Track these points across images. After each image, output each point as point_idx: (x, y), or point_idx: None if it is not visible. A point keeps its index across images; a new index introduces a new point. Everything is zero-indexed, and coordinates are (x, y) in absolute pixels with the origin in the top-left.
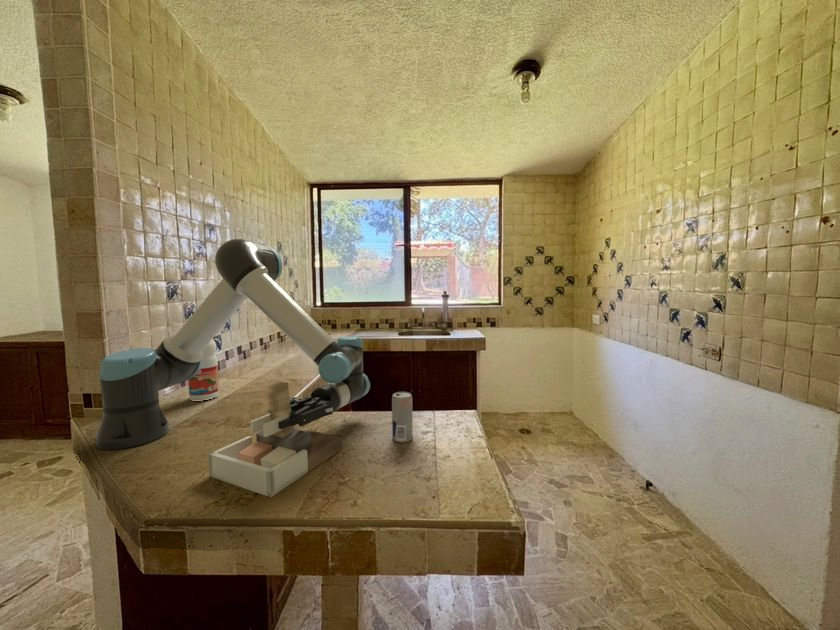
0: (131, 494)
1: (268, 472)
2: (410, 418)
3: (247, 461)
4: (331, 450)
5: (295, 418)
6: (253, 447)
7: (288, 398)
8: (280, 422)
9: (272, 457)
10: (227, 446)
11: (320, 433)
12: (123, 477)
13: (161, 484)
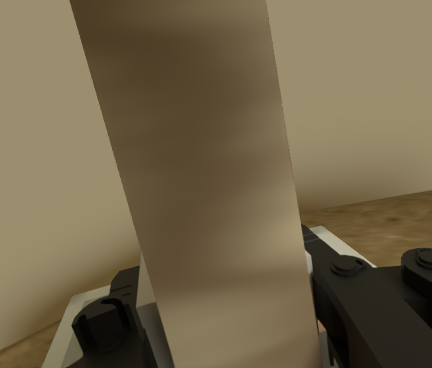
0: (337, 210)
1: (77, 295)
2: None
3: None
4: None
5: (78, 363)
6: (319, 326)
7: (123, 174)
8: (132, 269)
9: None
10: (350, 254)
11: None
12: (423, 199)
13: (349, 229)
